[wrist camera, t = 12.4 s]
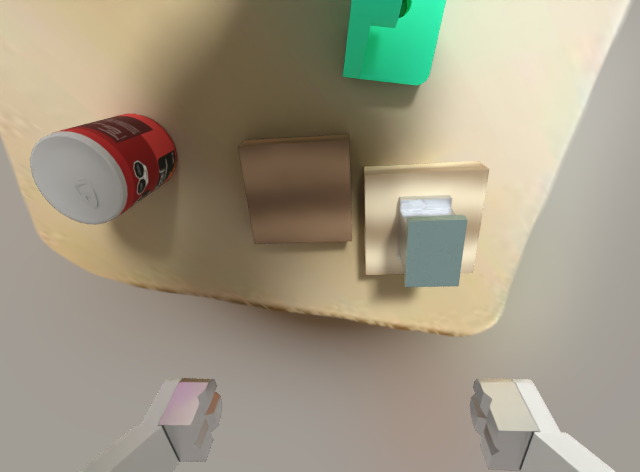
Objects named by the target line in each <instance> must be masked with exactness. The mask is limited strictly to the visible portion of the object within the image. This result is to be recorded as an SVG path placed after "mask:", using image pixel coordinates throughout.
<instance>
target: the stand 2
mask: <svg viewBox="0 0 640 472" xmlns="http://www.w3.org/2000/svg"><path fill="white" fill-rule="evenodd" d="M488 174H489V169H488V168H487V167H485V166H484V165H483V164H482V163H480V162H479V161H474V162H452V163H431V164H409V165H387V166H366V167H364V237H365V270H366V275H390V274H404V271H403V267H402V263H401V260H398V257H397V246H398V220H399V197H405V196H431V195H450V196H451V198H452V204H451V208H452V210H453V211H454V213H455V214H456V215H465V217H466V218H467V219H468V221H467V228H466V235H465V242H464V250H463V257H462V264H461V271H460V273H473V269H474V263H475V256H476V250H477V244H478V237H479V231H480V225H481V218H482V212H483V206H484V200H485V193H486V187H487V181H488Z"/></svg>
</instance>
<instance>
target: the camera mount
mask: <svg viewBox="0 0 640 472" xmlns="http://www.w3.org/2000/svg"><path fill="white" fill-rule="evenodd" d="M402 2H403V0H352V1H351V10H350V18H349V27H348V35H347V44H346V53H345V61H344V70H343V77H348V78H357V79H365V80H374V81H383V82H391V83H400V84H409V85H420V84H422V83H424V82H425V81H426V80H427V78H428V77H429V74H430V70H431V65H432V61H433V56H434V52H435V47H436V43H437V39H438V34H439V30H440V25H441V21H442V16H443V12H444V7H445V3H446V0H407V9H406V12H405V14H404V15H403V17H401V18H399V14H400V10H401V6H402Z"/></svg>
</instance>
